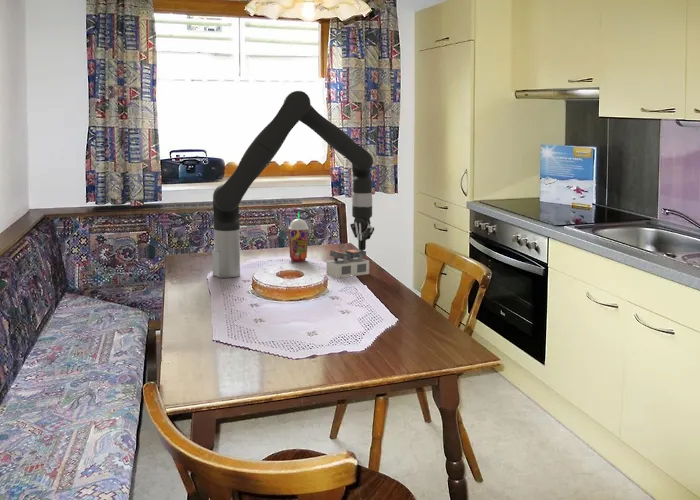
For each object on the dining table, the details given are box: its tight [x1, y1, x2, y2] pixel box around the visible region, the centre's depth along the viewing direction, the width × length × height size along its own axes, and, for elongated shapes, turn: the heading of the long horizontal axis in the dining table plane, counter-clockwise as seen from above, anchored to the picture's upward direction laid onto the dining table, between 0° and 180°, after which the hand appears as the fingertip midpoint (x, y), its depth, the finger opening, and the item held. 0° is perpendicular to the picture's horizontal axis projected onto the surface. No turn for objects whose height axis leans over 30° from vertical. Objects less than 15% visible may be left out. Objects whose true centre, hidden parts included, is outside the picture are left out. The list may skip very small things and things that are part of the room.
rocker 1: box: [329, 249, 351, 260], centre depth 254 cm, size 6×5×2 cm
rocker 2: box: [345, 248, 367, 258], centre depth 258 cm, size 6×5×2 cm
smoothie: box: [287, 211, 310, 263], centre depth 278 cm, size 8×8×20 cm
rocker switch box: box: [325, 254, 370, 279], centre depth 257 cm, size 14×8×8 cm, turn 125°
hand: (362, 249), depth 260 cm, fingers closed
